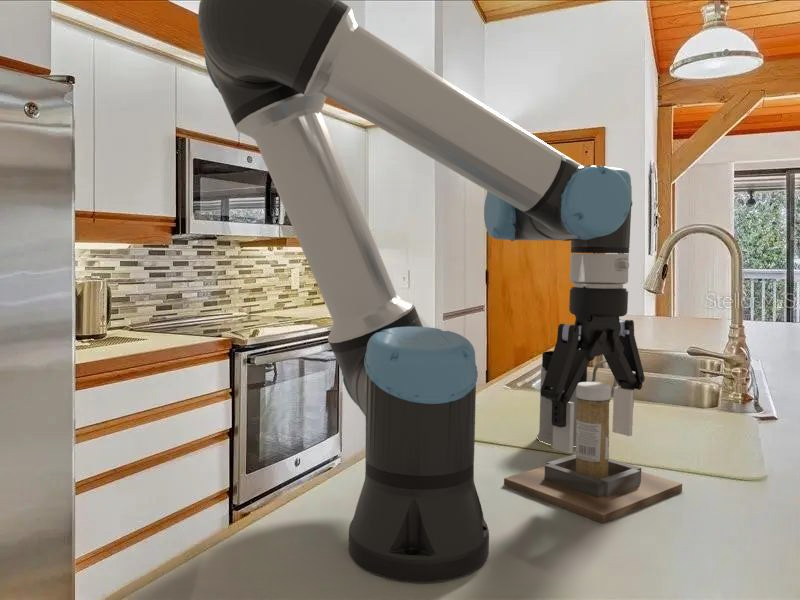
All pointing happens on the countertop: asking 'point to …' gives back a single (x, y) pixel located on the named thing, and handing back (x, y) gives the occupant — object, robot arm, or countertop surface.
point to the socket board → (593, 488)
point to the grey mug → (546, 404)
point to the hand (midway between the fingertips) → (593, 441)
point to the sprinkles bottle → (592, 429)
